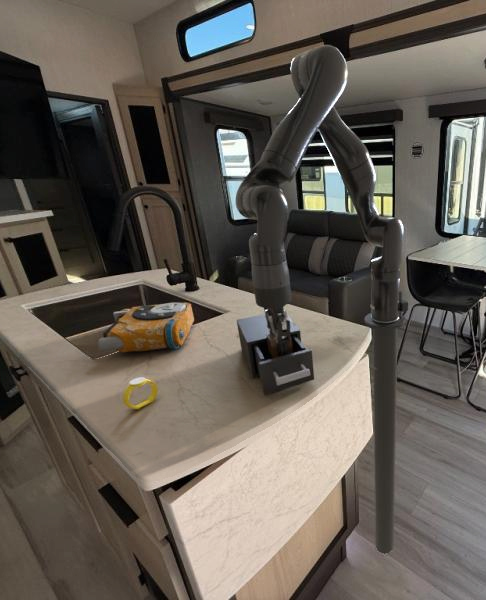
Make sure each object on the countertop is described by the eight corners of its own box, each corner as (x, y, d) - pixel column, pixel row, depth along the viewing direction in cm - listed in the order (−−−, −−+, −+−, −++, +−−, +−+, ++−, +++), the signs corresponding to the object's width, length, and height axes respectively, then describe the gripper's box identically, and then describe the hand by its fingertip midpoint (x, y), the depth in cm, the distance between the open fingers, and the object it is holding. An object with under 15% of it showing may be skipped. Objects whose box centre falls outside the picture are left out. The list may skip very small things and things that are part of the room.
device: (71, 338, 78) (120, 299, 105) (82, 367, 81) (127, 322, 108) (176, 326, 85) (198, 292, 112) (183, 353, 88) (202, 313, 115)
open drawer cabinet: (321, 389, 71) (319, 358, 69) (269, 406, 66) (264, 374, 63) (295, 353, 86) (292, 327, 84) (251, 365, 81) (246, 337, 78)
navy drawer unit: (303, 363, 83) (300, 330, 80) (252, 377, 77) (247, 342, 74) (286, 339, 96) (282, 310, 92) (241, 350, 89) (236, 319, 86)
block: (287, 346, 77) (285, 329, 76) (293, 354, 74) (291, 337, 72) (268, 351, 75) (266, 334, 74) (273, 359, 72) (270, 342, 70)
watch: (133, 415, 65) (125, 390, 62) (124, 411, 66) (116, 387, 63) (162, 398, 70) (155, 374, 68) (154, 395, 71) (147, 372, 69)
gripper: (299, 288, 65) (306, 361, 71) (280, 272, 76) (287, 336, 82) (261, 294, 61) (272, 371, 67) (247, 277, 72) (257, 343, 78)
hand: (280, 351), depth 74 cm, fingers closed on block, 4 cm apart
